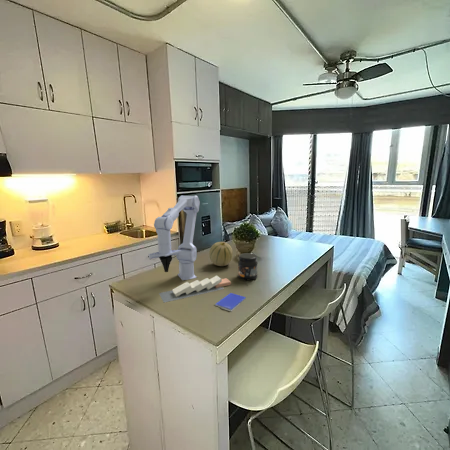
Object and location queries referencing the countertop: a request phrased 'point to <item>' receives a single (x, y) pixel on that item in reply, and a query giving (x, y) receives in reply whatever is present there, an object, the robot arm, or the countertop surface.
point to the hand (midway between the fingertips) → (166, 271)
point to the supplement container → (247, 266)
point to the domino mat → (171, 296)
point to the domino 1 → (181, 289)
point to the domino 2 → (194, 286)
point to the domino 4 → (214, 281)
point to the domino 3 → (204, 284)
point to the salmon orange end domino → (223, 283)
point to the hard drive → (230, 302)
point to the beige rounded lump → (221, 254)
